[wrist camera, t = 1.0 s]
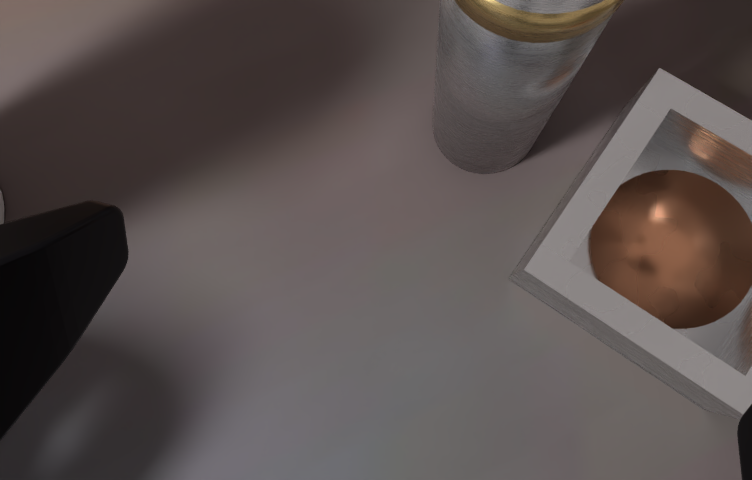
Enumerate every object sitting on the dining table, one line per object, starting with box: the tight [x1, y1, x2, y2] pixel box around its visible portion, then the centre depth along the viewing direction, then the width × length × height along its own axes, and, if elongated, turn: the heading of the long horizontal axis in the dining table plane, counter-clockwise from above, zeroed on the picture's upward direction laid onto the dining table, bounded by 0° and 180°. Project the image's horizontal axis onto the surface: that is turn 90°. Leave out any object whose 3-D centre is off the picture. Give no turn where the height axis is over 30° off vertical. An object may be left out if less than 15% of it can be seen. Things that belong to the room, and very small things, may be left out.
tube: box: [432, 0, 624, 174], centre depth 15 cm, size 4×4×13 cm
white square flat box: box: [509, 68, 752, 420], centre depth 19 cm, size 8×8×3 cm
